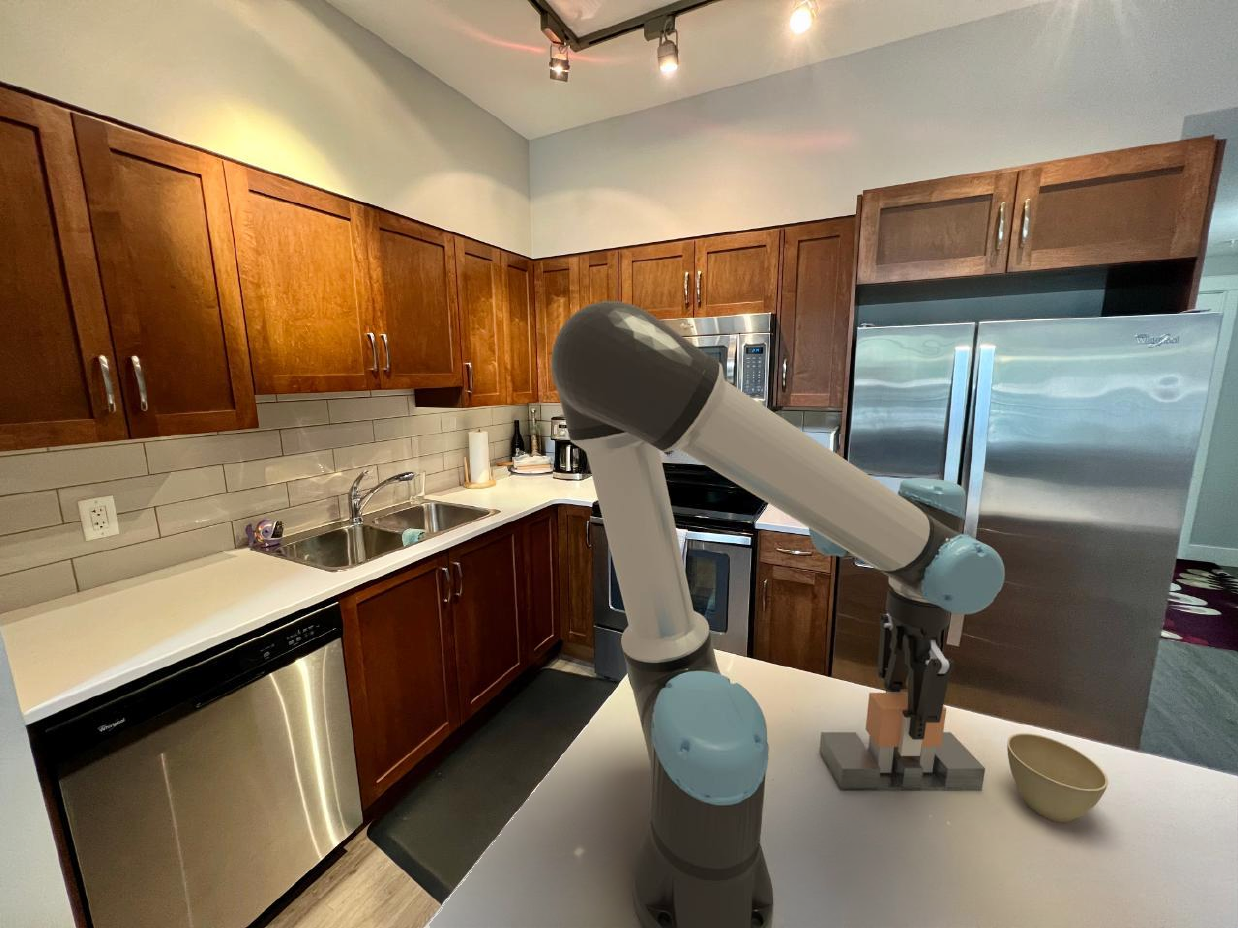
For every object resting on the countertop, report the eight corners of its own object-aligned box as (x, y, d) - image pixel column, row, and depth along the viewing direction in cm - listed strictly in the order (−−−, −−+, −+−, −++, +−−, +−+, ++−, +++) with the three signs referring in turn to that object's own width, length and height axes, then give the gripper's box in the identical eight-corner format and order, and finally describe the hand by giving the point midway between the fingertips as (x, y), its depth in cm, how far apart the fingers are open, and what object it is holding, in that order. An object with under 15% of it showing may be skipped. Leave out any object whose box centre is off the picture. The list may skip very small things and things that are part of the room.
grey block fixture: (840, 790, 68) (842, 768, 67) (819, 752, 74) (821, 732, 74) (981, 790, 68) (985, 768, 67) (947, 752, 75) (950, 732, 74)
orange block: (875, 774, 69) (882, 708, 67) (862, 755, 73) (869, 692, 71) (937, 773, 69) (946, 708, 68) (922, 755, 73) (930, 692, 71)
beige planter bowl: (1119, 847, 60) (1130, 797, 59) (1026, 831, 62) (1035, 782, 60) (1064, 782, 69) (1072, 738, 68) (985, 770, 71) (992, 727, 70)
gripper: (993, 621, 58) (966, 790, 62) (909, 568, 74) (893, 704, 79) (931, 621, 58) (909, 790, 62) (861, 568, 74) (847, 704, 78)
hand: (900, 742), depth 70 cm, fingers closed on orange block, 3 cm apart
